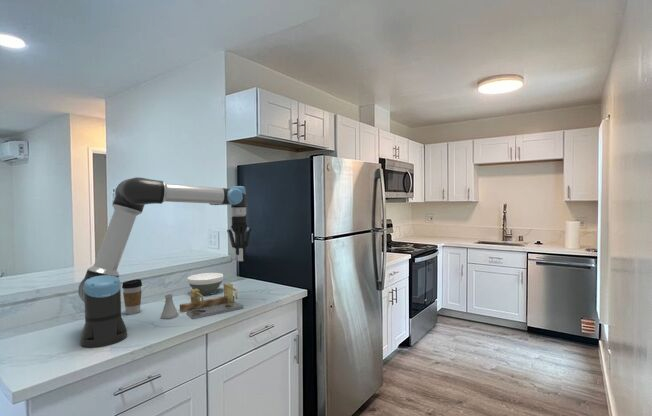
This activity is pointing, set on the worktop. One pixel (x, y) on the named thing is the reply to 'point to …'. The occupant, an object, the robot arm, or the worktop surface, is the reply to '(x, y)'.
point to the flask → (169, 308)
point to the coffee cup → (132, 296)
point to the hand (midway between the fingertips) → (240, 260)
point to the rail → (203, 303)
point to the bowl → (206, 282)
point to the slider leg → (229, 292)
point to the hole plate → (214, 310)
